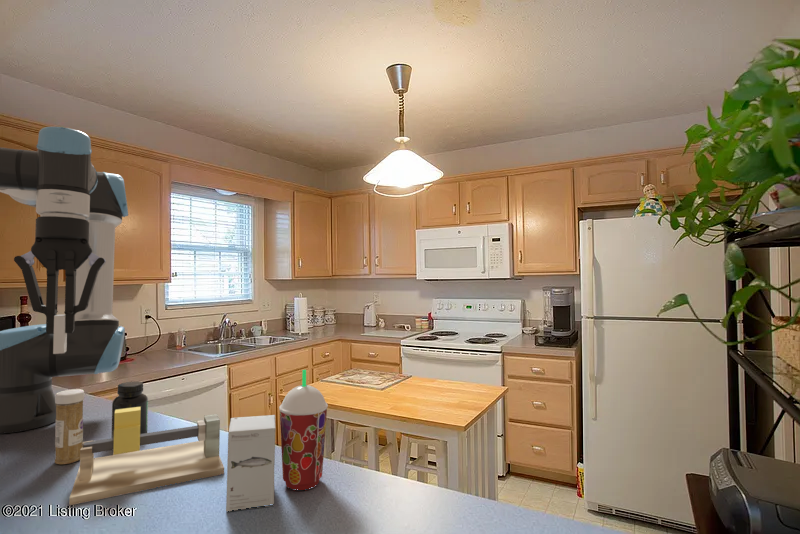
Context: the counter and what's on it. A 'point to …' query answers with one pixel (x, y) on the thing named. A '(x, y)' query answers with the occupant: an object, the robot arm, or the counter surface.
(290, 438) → the smoothie
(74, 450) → the sprinkles bottle
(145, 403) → the supplement bottle
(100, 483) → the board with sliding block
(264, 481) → the supplement box
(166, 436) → the gray square bar
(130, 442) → the sleeve
